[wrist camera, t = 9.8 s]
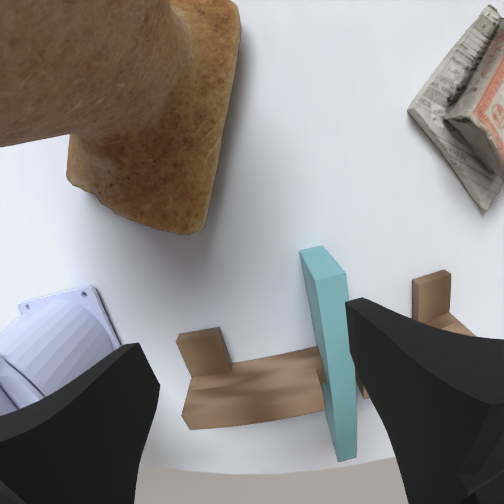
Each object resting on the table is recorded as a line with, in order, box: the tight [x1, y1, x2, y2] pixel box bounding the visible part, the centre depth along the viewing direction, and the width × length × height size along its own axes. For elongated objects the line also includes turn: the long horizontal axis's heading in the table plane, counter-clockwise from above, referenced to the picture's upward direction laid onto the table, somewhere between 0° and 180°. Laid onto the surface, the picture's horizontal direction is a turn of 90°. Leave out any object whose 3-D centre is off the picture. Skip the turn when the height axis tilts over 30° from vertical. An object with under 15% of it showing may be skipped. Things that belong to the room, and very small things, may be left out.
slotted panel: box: [299, 246, 357, 462], centre depth 18 cm, size 16×2×5 cm, turn 14°
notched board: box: [176, 270, 476, 430], centre depth 18 cm, size 20×8×5 cm, turn 103°
